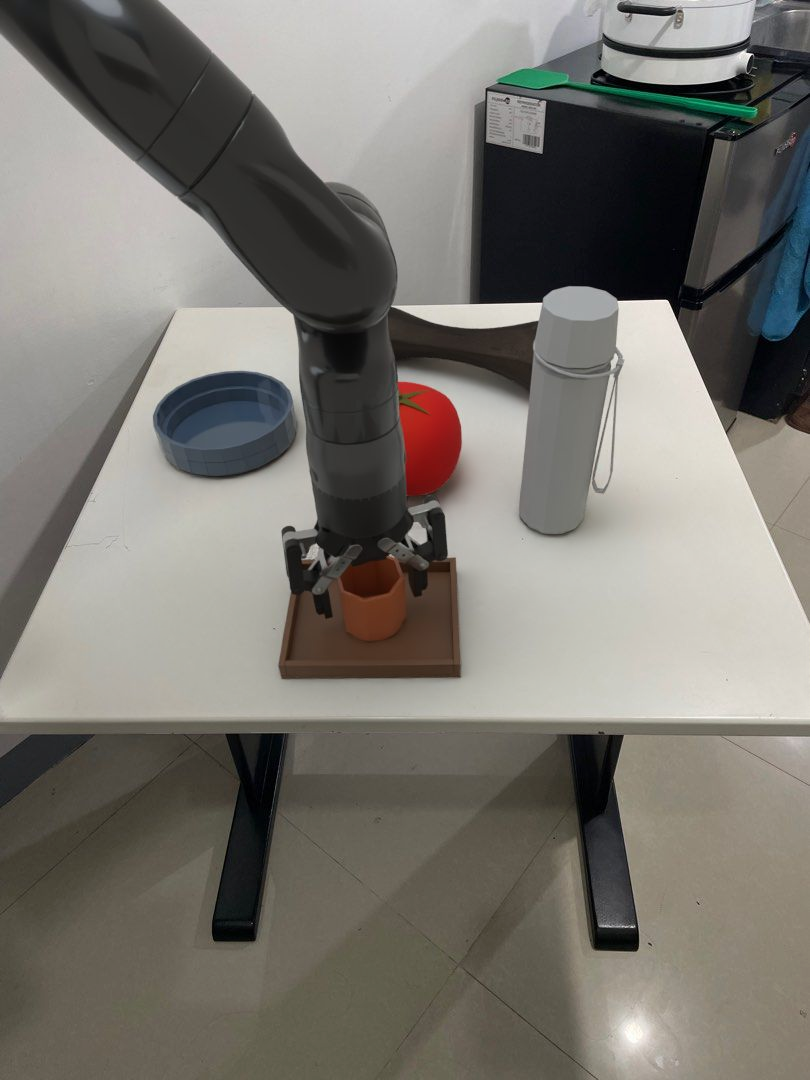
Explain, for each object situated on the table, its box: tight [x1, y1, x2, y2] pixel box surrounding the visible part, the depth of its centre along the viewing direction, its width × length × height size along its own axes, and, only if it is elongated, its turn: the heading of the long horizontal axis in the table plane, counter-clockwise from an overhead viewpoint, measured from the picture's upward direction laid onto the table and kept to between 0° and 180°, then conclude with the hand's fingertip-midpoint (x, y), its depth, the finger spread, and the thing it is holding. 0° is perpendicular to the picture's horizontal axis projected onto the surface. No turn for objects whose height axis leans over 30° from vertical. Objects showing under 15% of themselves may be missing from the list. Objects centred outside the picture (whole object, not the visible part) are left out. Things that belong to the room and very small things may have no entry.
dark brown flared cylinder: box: [387, 306, 539, 392], centre depth 100 cm, size 11×10×28 cm
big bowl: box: [152, 370, 298, 477], centre depth 92 cm, size 17×17×4 cm
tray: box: [277, 556, 462, 680], centre depth 70 cm, size 16×13×2 cm
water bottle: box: [518, 285, 625, 535], centre depth 72 cm, size 9×8×25 cm
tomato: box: [398, 381, 463, 497], centre depth 82 cm, size 13×14×12 cm
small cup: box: [336, 555, 406, 641], centre depth 69 cm, size 6×6×6 cm
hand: (371, 600), depth 69 cm, fingers open, 8 cm apart
